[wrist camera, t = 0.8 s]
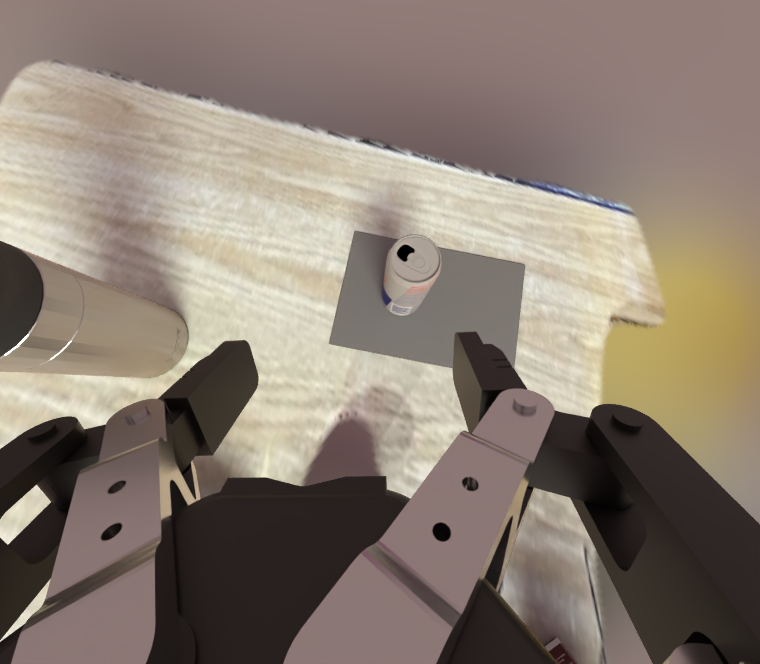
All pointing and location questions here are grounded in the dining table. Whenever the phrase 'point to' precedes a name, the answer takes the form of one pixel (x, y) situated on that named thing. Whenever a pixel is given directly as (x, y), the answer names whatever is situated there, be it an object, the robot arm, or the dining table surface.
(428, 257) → the energy drink
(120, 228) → the dining table surface
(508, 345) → the mat
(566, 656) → the supplement box
